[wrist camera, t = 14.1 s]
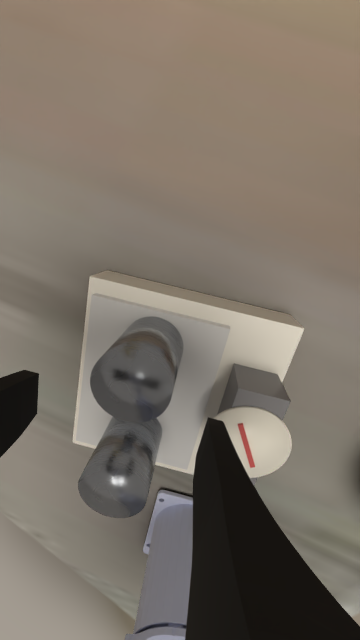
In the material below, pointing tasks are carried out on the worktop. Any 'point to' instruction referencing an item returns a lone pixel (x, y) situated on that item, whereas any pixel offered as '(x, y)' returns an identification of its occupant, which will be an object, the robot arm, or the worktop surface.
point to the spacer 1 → (139, 371)
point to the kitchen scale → (198, 369)
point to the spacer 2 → (121, 468)
